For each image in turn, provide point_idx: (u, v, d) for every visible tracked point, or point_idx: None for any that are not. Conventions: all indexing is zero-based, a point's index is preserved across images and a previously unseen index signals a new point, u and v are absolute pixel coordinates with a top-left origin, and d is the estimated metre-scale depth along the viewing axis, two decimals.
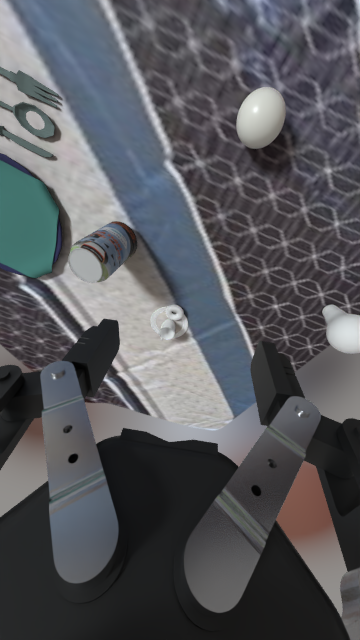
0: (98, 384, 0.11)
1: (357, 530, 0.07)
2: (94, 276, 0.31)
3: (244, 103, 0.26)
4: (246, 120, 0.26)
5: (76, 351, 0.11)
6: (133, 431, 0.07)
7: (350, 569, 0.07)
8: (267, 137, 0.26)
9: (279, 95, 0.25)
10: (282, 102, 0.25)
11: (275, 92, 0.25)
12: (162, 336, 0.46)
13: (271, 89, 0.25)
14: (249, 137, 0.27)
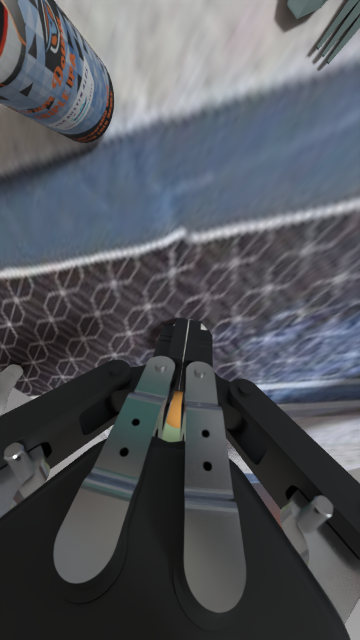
0: None
1: (272, 470, 0.08)
2: None
3: None
4: None
5: (162, 348, 0.11)
6: None
7: (278, 501, 0.08)
8: None
9: None
10: None
11: None
12: None
13: None
14: None
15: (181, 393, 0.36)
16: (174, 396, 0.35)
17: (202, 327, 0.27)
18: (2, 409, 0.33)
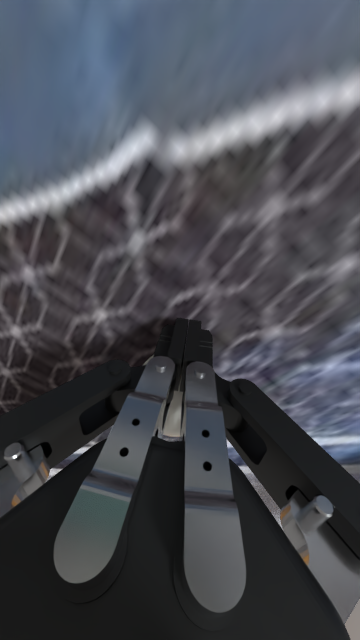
0: None
1: (272, 470, 0.08)
2: None
3: None
4: (171, 404, 0.12)
5: (162, 348, 0.11)
6: None
7: (278, 501, 0.08)
8: None
9: None
10: None
11: None
12: None
13: None
14: None
15: None
16: None
17: None
18: None
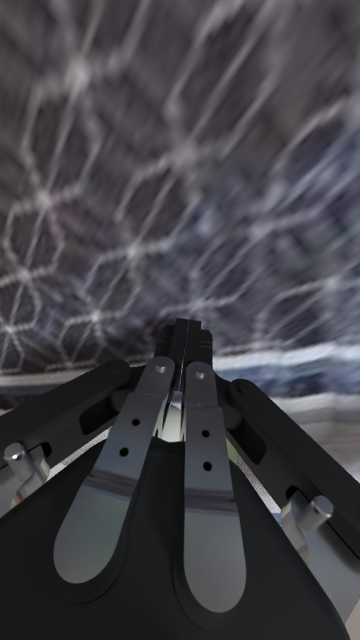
0: None
1: (272, 470, 0.08)
2: None
3: None
4: None
5: (162, 348, 0.11)
6: None
7: (278, 501, 0.08)
8: None
9: None
10: None
11: None
12: None
13: None
14: None
15: None
16: None
17: None
18: None
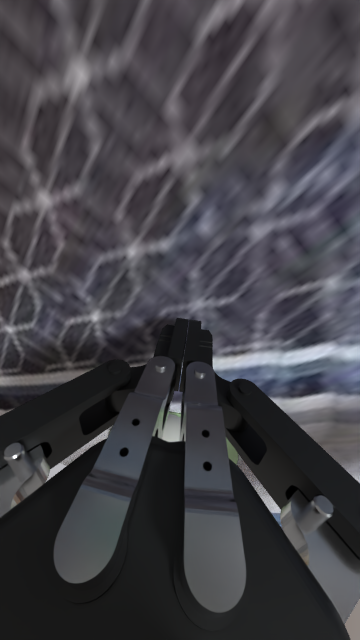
0: None
1: (272, 470, 0.08)
2: None
3: None
4: None
5: (162, 348, 0.11)
6: None
7: (278, 501, 0.08)
8: None
9: None
10: None
11: None
12: None
13: None
14: None
15: None
16: None
17: None
18: None
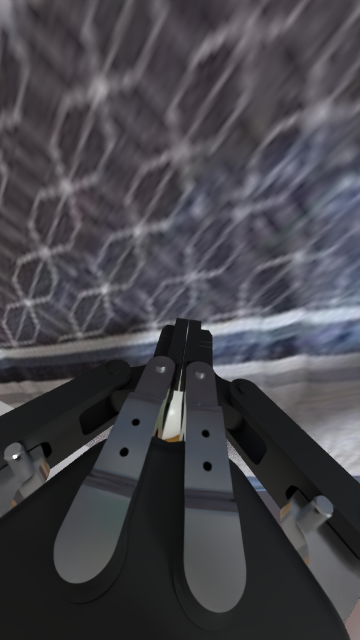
0: None
1: (272, 470, 0.08)
2: None
3: None
4: None
5: (162, 348, 0.11)
6: None
7: (278, 501, 0.08)
8: None
9: (178, 423, 0.20)
10: (170, 427, 0.20)
11: None
12: None
13: None
14: None
15: None
16: None
17: None
18: None
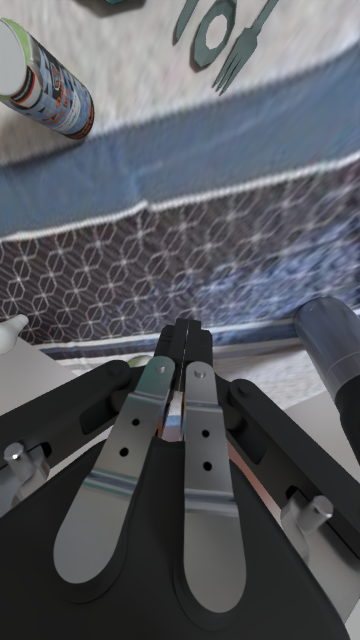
0: None
1: (272, 470, 0.08)
2: None
3: None
4: (146, 357, 0.50)
5: (162, 348, 0.11)
6: None
7: (278, 501, 0.08)
8: None
9: None
10: None
11: None
12: None
13: None
14: (139, 359, 0.50)
15: None
16: None
17: None
18: (13, 343, 0.44)
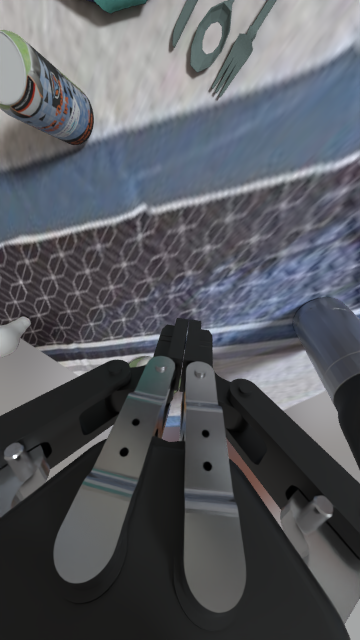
0: None
1: (272, 470, 0.08)
2: None
3: None
4: (147, 358, 0.50)
5: (162, 348, 0.11)
6: None
7: (278, 501, 0.08)
8: None
9: None
10: None
11: None
12: None
13: None
14: (140, 360, 0.50)
15: None
16: None
17: None
18: (16, 345, 0.44)
